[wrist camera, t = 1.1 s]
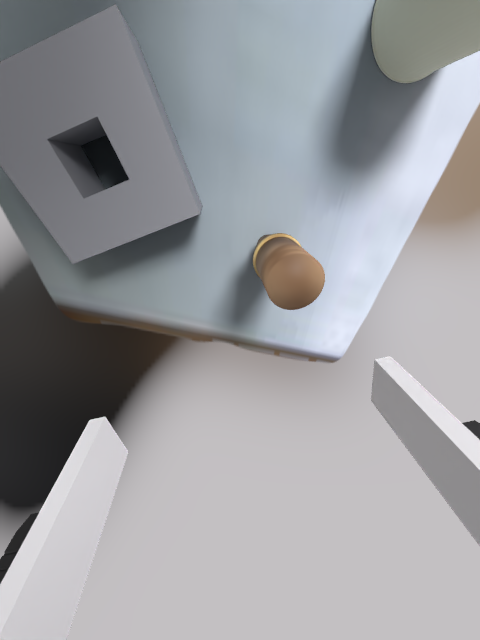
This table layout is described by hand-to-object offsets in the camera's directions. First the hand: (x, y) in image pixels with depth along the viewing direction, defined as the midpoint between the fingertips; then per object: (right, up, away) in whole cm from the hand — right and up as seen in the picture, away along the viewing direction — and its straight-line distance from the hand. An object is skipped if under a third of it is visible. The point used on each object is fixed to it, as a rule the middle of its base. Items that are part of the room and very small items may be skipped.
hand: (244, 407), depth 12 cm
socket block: (-13, +21, +14) cm, 28 cm away
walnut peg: (+3, +14, +20) cm, 25 cm away
